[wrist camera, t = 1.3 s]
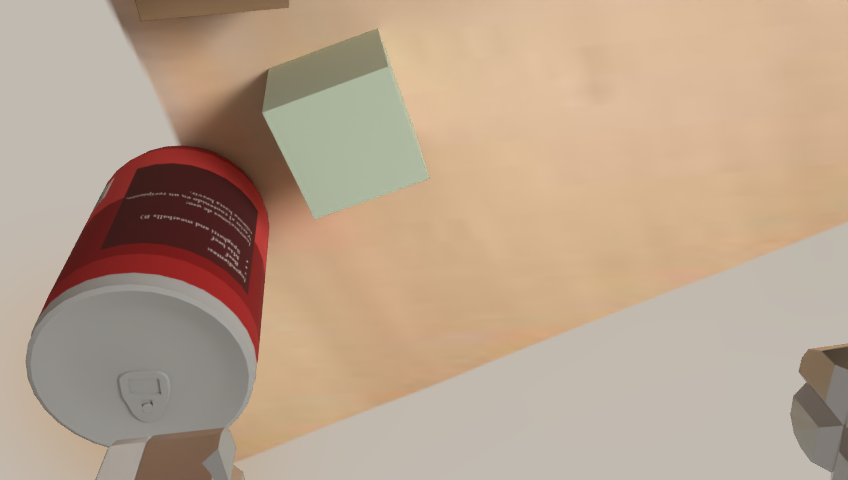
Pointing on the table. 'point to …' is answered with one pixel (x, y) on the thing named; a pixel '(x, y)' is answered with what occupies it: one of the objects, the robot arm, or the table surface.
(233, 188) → the canned food
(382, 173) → the sage block
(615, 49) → the table surface
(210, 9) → the walnut cube
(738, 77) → the table surface
